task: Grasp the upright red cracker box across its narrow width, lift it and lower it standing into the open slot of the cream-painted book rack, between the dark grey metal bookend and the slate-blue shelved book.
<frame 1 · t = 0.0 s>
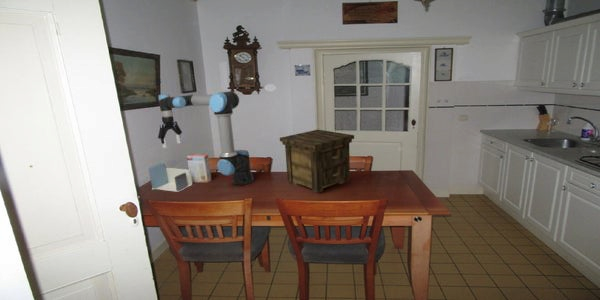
hand: (172, 145, 222), 28 cm above the table, fingers open, 13 cm apart
cracker box: (201, 182, 225), on the table
book rack: (172, 188, 216), on the table
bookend: (182, 188, 210), resting on book rack
wooden drawer cabinet: (318, 183, 210), on the table
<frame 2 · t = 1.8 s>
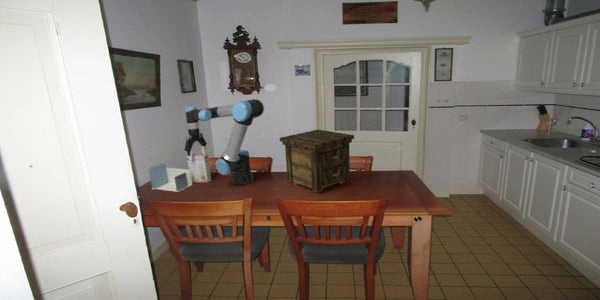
hand: (197, 157, 220), 19 cm above the table, fingers open, 13 cm apart
nothing on the table moved.
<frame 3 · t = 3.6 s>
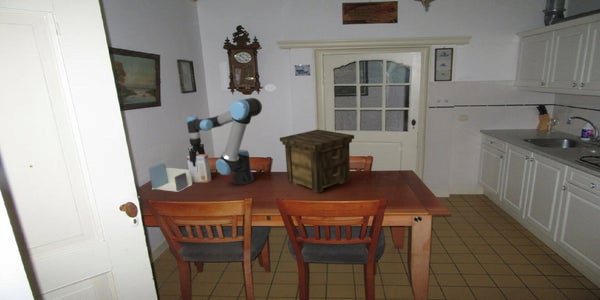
hand: (199, 168, 222), 10 cm above the table, fingers closed on cracker box, 6 cm apart
cracker box: (201, 182, 225), on the table, touching gripper
everything else where it was.
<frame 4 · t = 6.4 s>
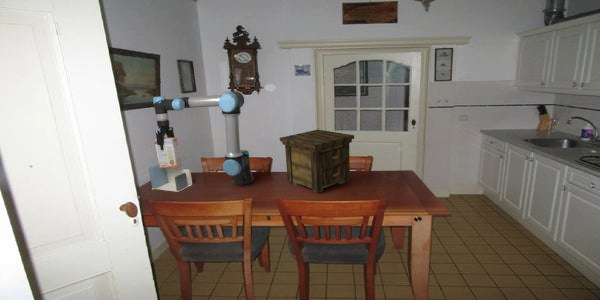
hand: (168, 153, 210), 26 cm above the table, fingers closed on cracker box, 6 cm apart
cracker box: (170, 167, 213), point 15 cm above the table, touching gripper
everything else where it was.
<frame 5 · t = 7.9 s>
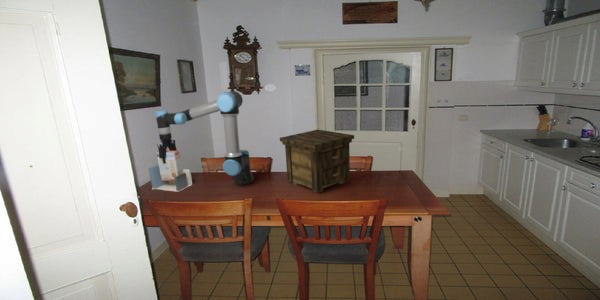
hand: (170, 165, 212), 16 cm above the table, fingers closed on cracker box, 6 cm apart
cracker box: (172, 180, 215), point 6 cm above the table, touching gripper
everything else where it was.
when the fingers open (13 cm above the table, at t = 9.3 s): cracker box drops 2 cm, resting on book rack.
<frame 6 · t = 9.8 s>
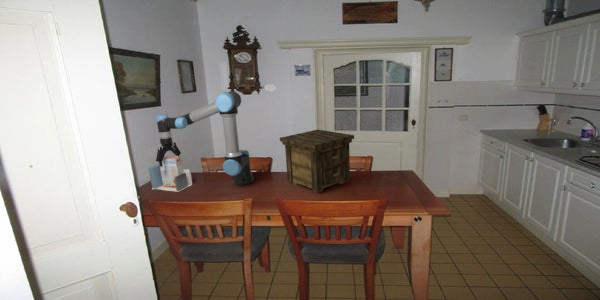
hand: (170, 167, 213), 15 cm above the table, fingers open, 13 cm apart
cracker box: (174, 186, 216), point 1 cm above the table, touching book rack
everything else where it was.
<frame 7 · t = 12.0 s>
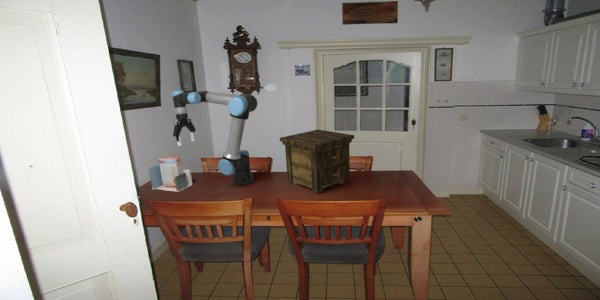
hand: (186, 143, 215), 30 cm above the table, fingers open, 13 cm apart
nothing on the table moved.
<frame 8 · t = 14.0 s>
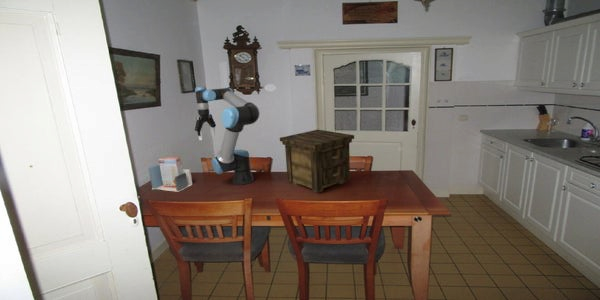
hand: (207, 138, 222), 32 cm above the table, fingers open, 13 cm apart
nothing on the table moved.
at the end: cracker box inside the target area on the book rack (1.1 cm from its centre), point 1.0 cm above the book rack's base; cracker box tilted 0°; the gripper is holding nothing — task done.
